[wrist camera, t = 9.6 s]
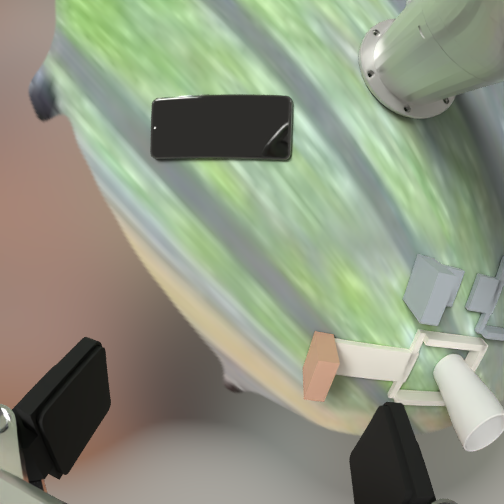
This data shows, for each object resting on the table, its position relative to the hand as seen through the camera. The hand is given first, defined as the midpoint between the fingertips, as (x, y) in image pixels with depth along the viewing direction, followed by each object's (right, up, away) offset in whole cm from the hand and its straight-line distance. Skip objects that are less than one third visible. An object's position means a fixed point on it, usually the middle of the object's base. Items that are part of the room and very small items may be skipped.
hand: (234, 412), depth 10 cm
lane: (+21, -10, +30) cm, 38 cm away
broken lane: (+33, -1, +26) cm, 42 cm away
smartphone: (-3, +19, +25) cm, 32 cm away
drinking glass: (+30, -12, +30) cm, 44 cm away
